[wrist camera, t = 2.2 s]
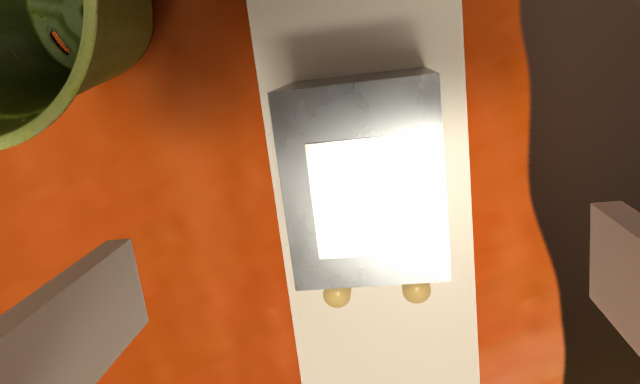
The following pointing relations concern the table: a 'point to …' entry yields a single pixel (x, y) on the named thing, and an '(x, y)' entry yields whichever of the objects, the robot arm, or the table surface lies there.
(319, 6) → the tray
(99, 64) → the plant pot
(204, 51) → the table surface
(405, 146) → the block
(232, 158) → the table surface
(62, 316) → the robot arm
